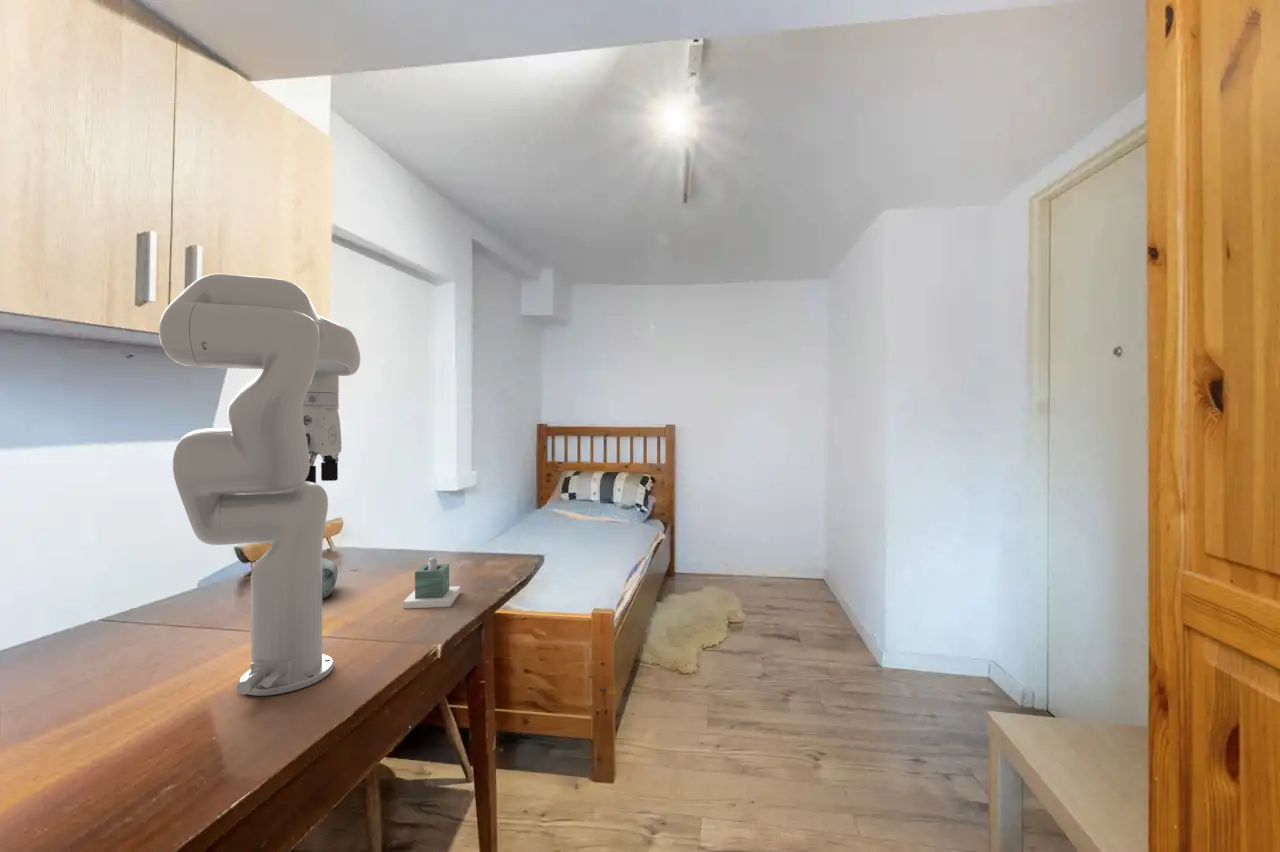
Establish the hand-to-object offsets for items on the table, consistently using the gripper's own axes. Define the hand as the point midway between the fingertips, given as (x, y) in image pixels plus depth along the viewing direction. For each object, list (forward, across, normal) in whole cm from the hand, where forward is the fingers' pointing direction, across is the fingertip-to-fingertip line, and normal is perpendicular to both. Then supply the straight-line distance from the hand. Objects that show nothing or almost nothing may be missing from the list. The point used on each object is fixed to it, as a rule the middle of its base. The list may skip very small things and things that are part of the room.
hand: (318, 483), depth 112 cm
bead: (+27, +8, -21) cm, 35 cm away
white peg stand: (+28, +8, -21) cm, 36 cm away
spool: (+29, +16, +8) cm, 34 cm away
